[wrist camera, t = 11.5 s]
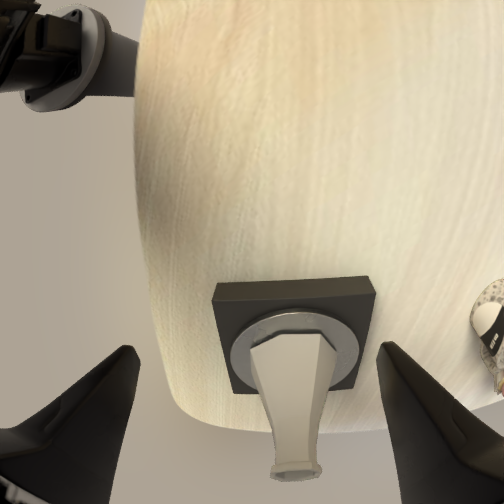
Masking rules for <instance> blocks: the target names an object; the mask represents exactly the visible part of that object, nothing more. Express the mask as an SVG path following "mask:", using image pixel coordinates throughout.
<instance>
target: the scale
mask: <svg viewBox="0 0 504 504" xmlns="http://www.w3.org/2000/svg"><path fill="white" fill-rule="evenodd" d="M375 296H376V292H375V289H374V287H373V285H372V283H371V281H370V279H369V277H368V276H356V277H340V278H323V279H304V280H283V281H259V282H230V283H217V285H216V289H215V292H214V295H213V298H212V305H213V310H214V314H215V319H216V323H217V328H218V332H219V336H220V341H221V345H222V349H223V353H224V358H225V362H226V366H227V370H228V374H229V378H230V382H231V386H232V390H233V393H234V394H259V392H258V390H256V389H254V388H252V387H251V386H249V385H247V384H246V383H245V382H243V381H242V380H241V379H240V378H239V377H238V376H237V374H236V373H235V371H234V370H233V368H232V365H231V360H230V353H231V347H232V344H233V341H234V339H235V337H236V336H237V334H238V333H239V332H240V330H241V329H243V328H244V327H245V326H246V325H247V324H248V323H250V322H251V321H253V320H255V319H256V318H258V317H260V316H263V315H265V314H268V313H271V312H274V311H278V310H284V309H292V308H309V309H317V310H321V311H325V312H328V313H331V314H333V315H335V316H338V317H339V318H341V319H342V320H344V321H345V322H346V323H347V324H348V325H349V326H350V327H351V328H352V329H353V331H354V333H355V335H356V337H357V340H358V344H359V355H358V359H357V362H356V364H355V366H354V367H353V369H352V370H351V371H350V373H349V374H348V375H347V376H346V377H345V378H343V379H342V380H341V381H340V382H338V383H337V384H335V385H333V386H331V387H329V389H328V391H335V390H345V389H353V387H354V384H355V380H356V377H357V374H358V370H359V366H360V363H361V359H362V355H363V351H364V347H365V343H366V339H367V335H368V330H369V326H370V321H371V316H372V312H373V307H374V301H375Z"/></svg>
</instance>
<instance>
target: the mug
mask: <svg viewBox="0 0 504 504" xmlns="http://www.w3.org/2000/svg"><path fill="white" fill-rule="evenodd" d="M470 323H471V325H472V326H473V328H474V329H475V331H476V332H477V334H478V335H479V337H480V339H481V347H480V353H481V356H482V359H483V361H484V363H485V365H486V366H487V368H488V369H489V371H490V372H491V373H492V374H498V373H499V372H500V371H501V370H502V368H504V279H501V280H497V281H495V282H493V283H492V284H491V285H489V286H488V287H487V288H486V289H485V290H484V291H483V292H482V294H481V295H480V296H479V298H478V299H477V301H476V302H475V304H474V306H473V309H472V311H471V315H470ZM491 356H492V357H491ZM492 358H493V359H492ZM494 361H495V362H494Z"/></svg>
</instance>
